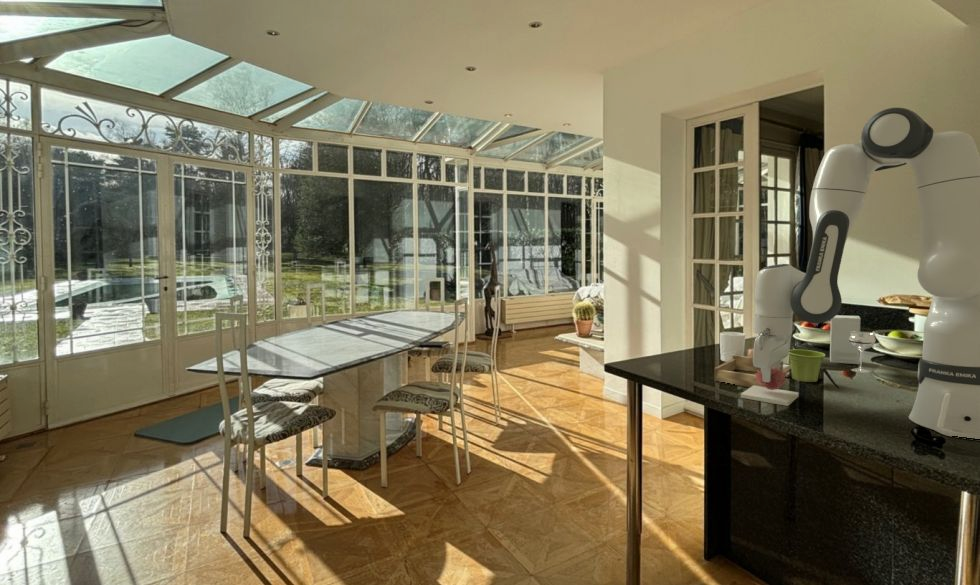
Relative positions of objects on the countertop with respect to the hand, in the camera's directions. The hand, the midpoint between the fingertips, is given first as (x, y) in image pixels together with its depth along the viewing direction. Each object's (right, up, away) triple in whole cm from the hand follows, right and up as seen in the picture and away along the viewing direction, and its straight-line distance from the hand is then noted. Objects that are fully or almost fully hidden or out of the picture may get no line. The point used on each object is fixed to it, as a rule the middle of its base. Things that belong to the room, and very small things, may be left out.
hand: (770, 378), depth 135 cm
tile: (0, -5, 0) cm, 5 cm away
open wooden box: (+3, -3, +18) cm, 18 cm away
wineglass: (+43, -2, +27) cm, 50 cm away
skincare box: (+46, -1, +39) cm, 60 cm away
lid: (+15, -2, +30) cm, 34 cm away
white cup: (+8, -1, +40) cm, 40 cm away
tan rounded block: (+12, -1, +32) cm, 34 cm away
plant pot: (+18, -4, +15) cm, 23 cm away
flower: (0, -3, 0) cm, 3 cm away
